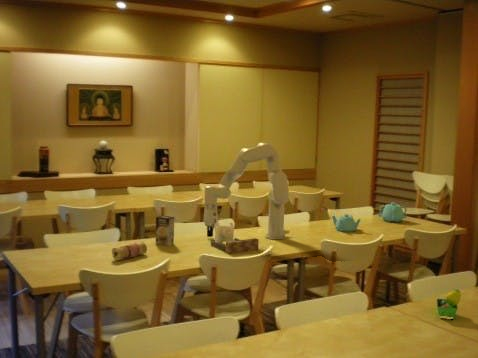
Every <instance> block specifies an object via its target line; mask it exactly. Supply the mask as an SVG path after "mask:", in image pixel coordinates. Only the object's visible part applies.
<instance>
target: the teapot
mask: <svg viewBox="0 0 478 358" xmlns="http://www.w3.org/2000/svg"><path fill="white" fill-rule="evenodd" d="M331 217H332V222H333V224H334V225H333V226H335V229H336V230H337V231H338V232H343V233H352V232H355V231H356V230H357V229H358V226H359V224H360V222H361V220H362V219H360V218H358V219H357V220H356V221H355V219H354V217H353V215H351V214H347V213H345V214H344V215H340V216H339V217H338V219H337V218H336V216H335V215H332V216H331Z"/></svg>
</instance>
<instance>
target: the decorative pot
mask: <svg viewBox="0 0 478 358" xmlns="http://www.w3.org/2000/svg"><path fill="white" fill-rule="evenodd" d="M396 203H397V202H390V204H385V205H384V204H382V205H379V212H378V217H380V218H382V220H383V221H386V223H387V222H388V223H390V222H395V223H400V222H402V221H403V220H404V219H406V218H407V216H408V215H407V214H406V212H407V210H408V209H407V207H406V206H404V205H403V206H401V205H400V204H396ZM382 207H383V208H382ZM403 209H404V210H403ZM403 211H404V212H403Z"/></svg>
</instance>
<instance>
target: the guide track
mask: <svg viewBox="0 0 478 358" xmlns="http://www.w3.org/2000/svg"><path fill="white" fill-rule="evenodd" d="M259 241H260V240H259V239H258V238H256V237H255V238H254V237H253V238H249V239H248V238H247V239H246V238H245V239H240V238H237V237H235V238H234V241H229V242H225V245H224V244H223V243H217V242H215V241H214V240H211V241H210V246H211V247H213V246H214V247H213V248H216V249H219V250H221V251H222V252H225V253H226V254H227V255H230V254H237V253H244V252H253V251H259V244H260V243H259Z"/></svg>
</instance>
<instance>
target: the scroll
mask: <svg viewBox="0 0 478 358" xmlns="http://www.w3.org/2000/svg"><path fill="white" fill-rule="evenodd" d="M147 251H148V248H147V245H146V243H145V242H139V243H133V244H132V243H131V244H126V245H124V246H119V247H114V248H112V249H111V254H112V258H113V260H114V261H118V260H120V259H122V260H123V259H126V260H129V259H130V260H131V259H134V257H136V256H139V255H145V254H146V253H148V252H147Z"/></svg>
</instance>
